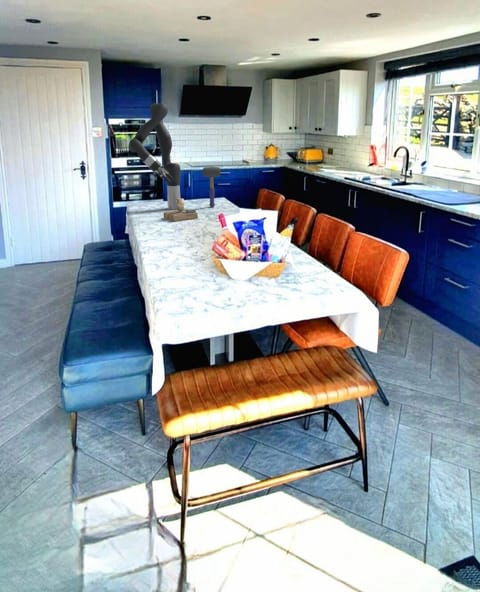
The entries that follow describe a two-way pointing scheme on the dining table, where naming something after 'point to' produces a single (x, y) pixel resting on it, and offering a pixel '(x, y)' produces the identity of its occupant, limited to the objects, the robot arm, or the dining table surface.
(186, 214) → the subfloor panel
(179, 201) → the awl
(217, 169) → the rubber mallet
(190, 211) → the stud finder
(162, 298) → the dining table surface
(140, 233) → the dining table surface
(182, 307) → the dining table surface
